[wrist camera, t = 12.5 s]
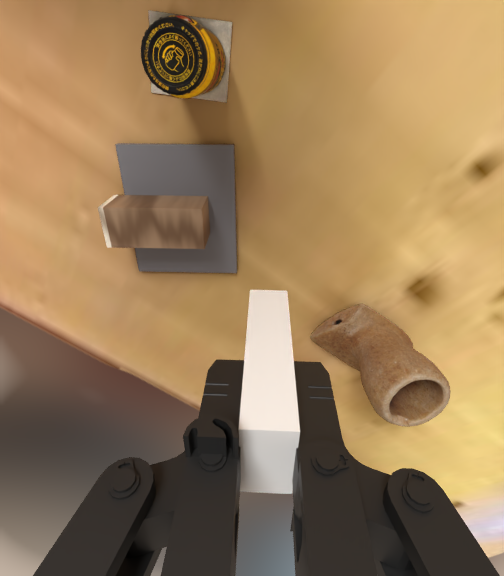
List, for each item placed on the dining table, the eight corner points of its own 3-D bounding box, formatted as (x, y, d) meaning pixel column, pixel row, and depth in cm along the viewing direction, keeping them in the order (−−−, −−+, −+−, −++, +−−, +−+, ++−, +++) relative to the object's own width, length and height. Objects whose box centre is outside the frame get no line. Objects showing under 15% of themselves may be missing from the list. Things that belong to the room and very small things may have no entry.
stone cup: (430, 333, 55) (479, 411, 42) (371, 375, 60) (399, 456, 47) (364, 279, 51) (396, 348, 38) (306, 329, 56) (318, 405, 43)
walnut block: (97, 207, 40) (201, 208, 40) (113, 194, 45) (207, 196, 44) (106, 247, 43) (204, 248, 43) (121, 231, 47) (210, 233, 47)
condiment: (227, 102, 40) (212, 111, 29) (151, 92, 39) (110, 98, 29) (232, 22, 36) (218, 1, 26) (149, 10, 36) (101, -16, 25)
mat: (117, 143, 42) (115, 144, 42) (234, 144, 42) (233, 145, 41) (140, 268, 51) (139, 271, 50) (237, 270, 51) (236, 273, 50)
